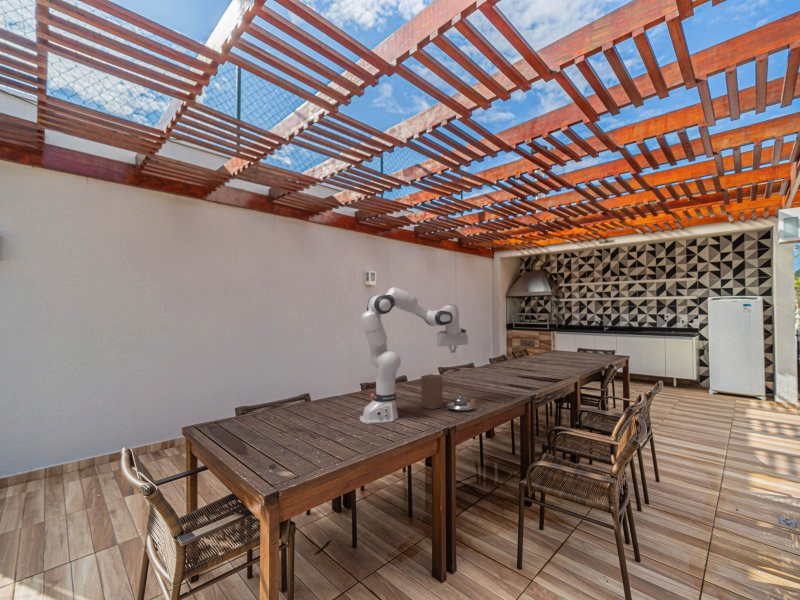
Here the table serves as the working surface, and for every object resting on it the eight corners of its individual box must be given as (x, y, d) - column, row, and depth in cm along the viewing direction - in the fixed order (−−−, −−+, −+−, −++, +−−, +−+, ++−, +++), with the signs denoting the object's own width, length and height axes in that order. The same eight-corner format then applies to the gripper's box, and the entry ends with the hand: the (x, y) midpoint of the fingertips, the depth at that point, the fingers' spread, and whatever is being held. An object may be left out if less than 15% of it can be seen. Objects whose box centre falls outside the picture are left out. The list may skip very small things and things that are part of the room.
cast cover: (465, 406, 217) (465, 398, 218) (452, 405, 221) (452, 397, 221) (468, 403, 225) (468, 395, 225) (455, 402, 228) (455, 395, 228)
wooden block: (432, 410, 223) (431, 377, 223) (421, 407, 230) (420, 375, 231) (443, 407, 229) (442, 375, 230) (431, 404, 237) (431, 373, 237)
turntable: (471, 413, 212) (471, 403, 212) (443, 411, 219) (443, 400, 219) (477, 406, 228) (477, 396, 228) (451, 404, 235) (451, 394, 235)
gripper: (439, 331, 218) (440, 354, 217) (469, 330, 225) (469, 352, 225) (435, 330, 224) (435, 353, 223) (463, 329, 231) (464, 351, 231)
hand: (453, 352), depth 224 cm, fingers closed
